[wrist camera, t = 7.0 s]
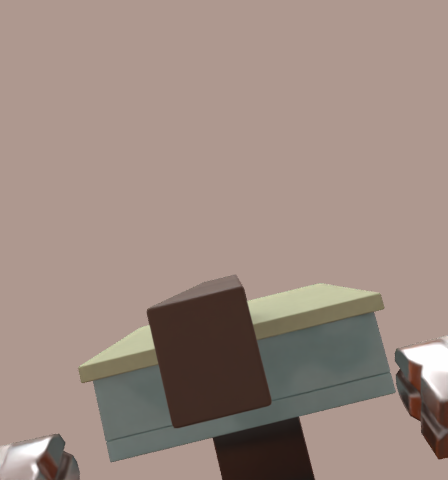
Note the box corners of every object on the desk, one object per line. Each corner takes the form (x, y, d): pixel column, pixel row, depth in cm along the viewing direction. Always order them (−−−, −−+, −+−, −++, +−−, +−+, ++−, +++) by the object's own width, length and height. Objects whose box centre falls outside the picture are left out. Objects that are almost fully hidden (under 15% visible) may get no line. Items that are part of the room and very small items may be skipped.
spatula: (323, 292, 31) (312, 253, 32) (611, 368, 7) (560, 206, 8) (142, 337, 31) (133, 297, 32) (-143, 552, 8) (-170, 386, 8)
